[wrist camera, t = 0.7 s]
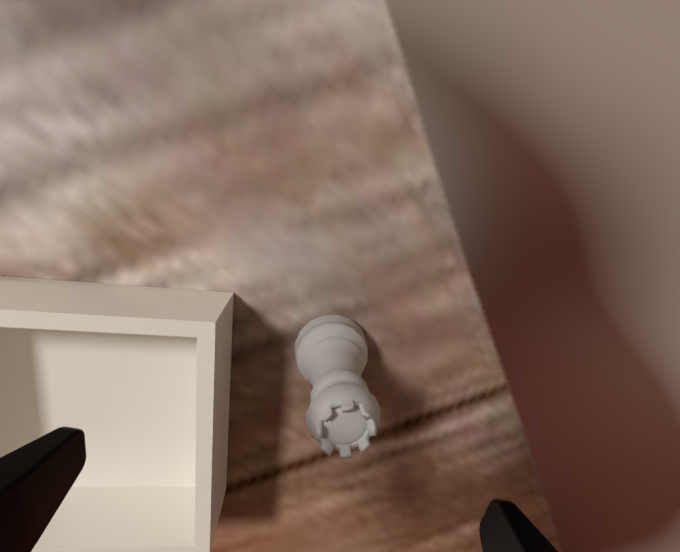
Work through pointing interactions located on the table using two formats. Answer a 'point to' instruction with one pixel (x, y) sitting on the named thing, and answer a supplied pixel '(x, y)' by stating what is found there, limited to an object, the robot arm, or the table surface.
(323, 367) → the rook chess piece
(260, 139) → the table surface
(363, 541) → the table surface
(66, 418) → the white square tray
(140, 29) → the table surface
